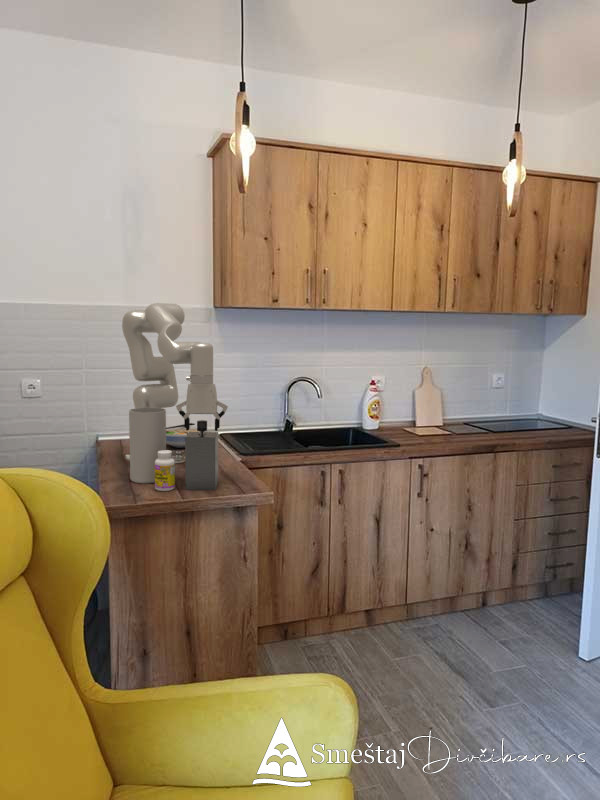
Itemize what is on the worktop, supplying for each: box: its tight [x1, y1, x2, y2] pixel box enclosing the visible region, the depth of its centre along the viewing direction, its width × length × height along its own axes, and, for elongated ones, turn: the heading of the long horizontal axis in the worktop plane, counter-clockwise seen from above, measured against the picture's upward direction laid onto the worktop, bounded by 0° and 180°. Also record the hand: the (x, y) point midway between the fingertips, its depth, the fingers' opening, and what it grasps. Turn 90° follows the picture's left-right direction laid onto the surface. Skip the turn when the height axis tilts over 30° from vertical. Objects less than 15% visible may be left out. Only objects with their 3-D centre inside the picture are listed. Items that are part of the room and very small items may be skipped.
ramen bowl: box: [166, 422, 208, 449], centre depth 270 cm, size 25×23×8 cm
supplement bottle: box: [154, 449, 176, 492], centre depth 201 cm, size 7×7×13 cm
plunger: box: [196, 419, 208, 435], centre depth 205 cm, size 7×7×21 cm
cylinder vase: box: [128, 407, 167, 484], centre depth 212 cm, size 12×12×25 cm
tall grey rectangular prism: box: [184, 431, 219, 491], centre depth 207 cm, size 10×13×18 cm
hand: (202, 430), depth 204 cm, fingers open, 9 cm apart
